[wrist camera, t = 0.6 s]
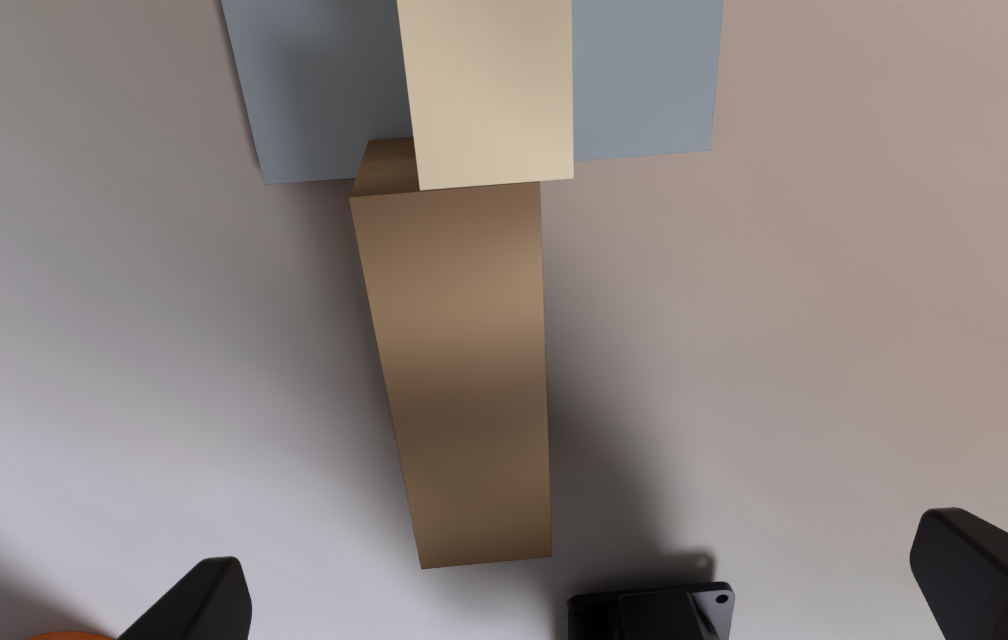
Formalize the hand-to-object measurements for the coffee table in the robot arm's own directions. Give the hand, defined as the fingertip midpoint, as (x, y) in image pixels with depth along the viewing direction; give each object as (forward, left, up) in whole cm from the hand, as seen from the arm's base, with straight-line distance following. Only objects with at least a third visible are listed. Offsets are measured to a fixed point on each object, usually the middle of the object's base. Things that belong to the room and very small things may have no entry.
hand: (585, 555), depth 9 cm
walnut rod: (-3, +2, -12) cm, 12 cm away
